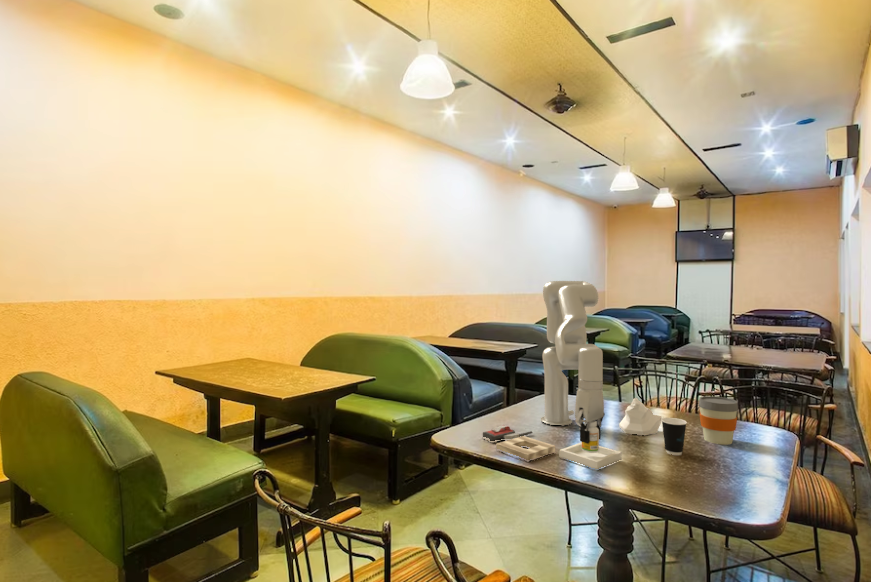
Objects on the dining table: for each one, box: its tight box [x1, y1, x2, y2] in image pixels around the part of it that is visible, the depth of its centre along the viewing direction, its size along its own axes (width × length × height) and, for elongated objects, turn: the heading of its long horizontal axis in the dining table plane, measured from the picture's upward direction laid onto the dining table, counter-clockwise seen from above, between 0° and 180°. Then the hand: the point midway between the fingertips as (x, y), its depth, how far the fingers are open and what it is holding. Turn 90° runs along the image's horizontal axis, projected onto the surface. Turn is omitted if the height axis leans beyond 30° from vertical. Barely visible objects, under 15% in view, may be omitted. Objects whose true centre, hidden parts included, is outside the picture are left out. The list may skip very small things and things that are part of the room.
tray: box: [558, 441, 623, 469], centre depth 156 cm, size 14×14×3 cm
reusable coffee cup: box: [698, 395, 739, 445], centre depth 176 cm, size 13×13×15 cm
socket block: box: [495, 436, 556, 460], centre depth 163 cm, size 14×14×2 cm
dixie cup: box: [661, 417, 688, 456], centre depth 163 cm, size 8×8×11 cm
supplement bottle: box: [582, 420, 600, 453], centre depth 156 cm, size 5×5×10 cm
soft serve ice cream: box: [618, 397, 662, 436], centre depth 186 cm, size 12×15×14 cm
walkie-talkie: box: [482, 424, 533, 441], centre depth 179 cm, size 9×4×20 cm
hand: (590, 439), depth 156 cm, fingers closed on supplement bottle, 5 cm apart
